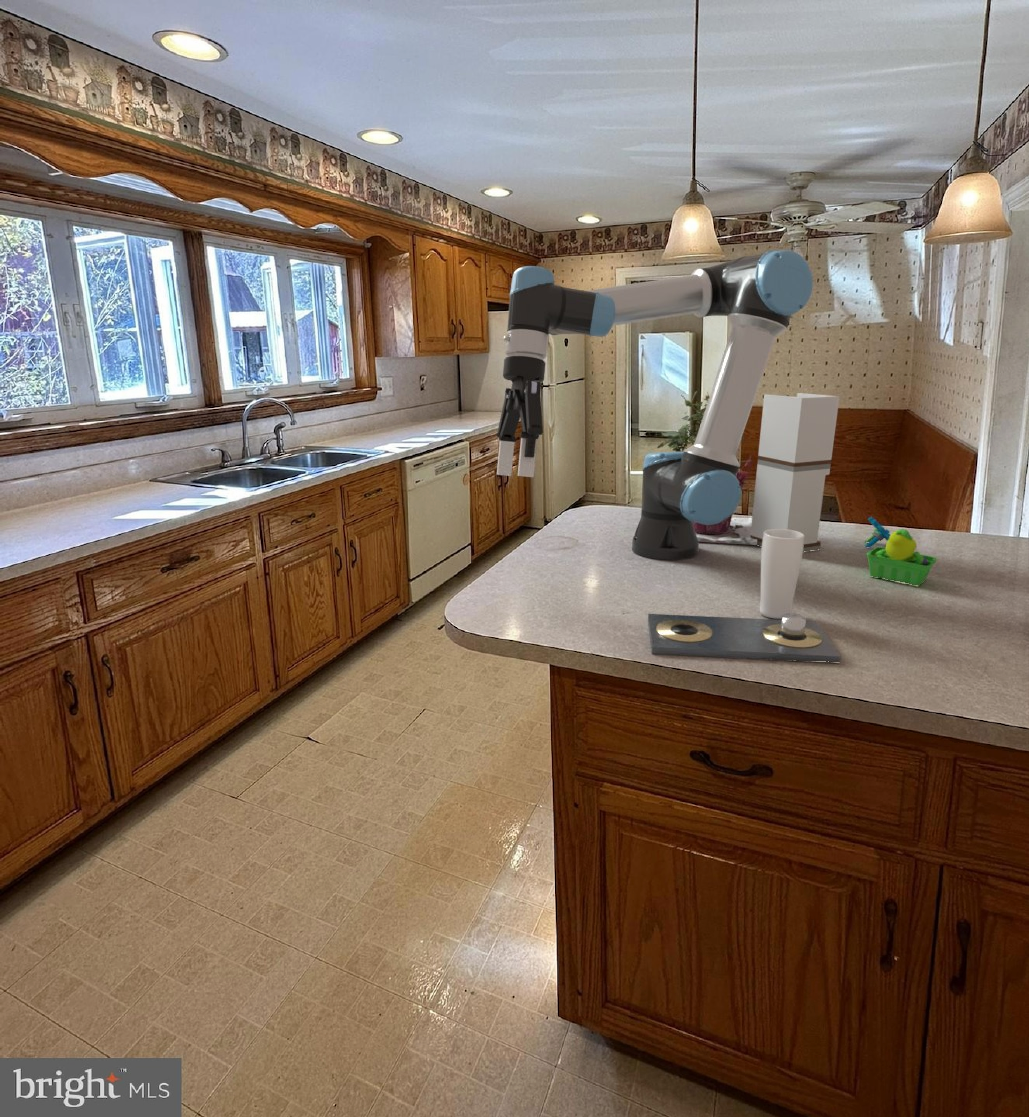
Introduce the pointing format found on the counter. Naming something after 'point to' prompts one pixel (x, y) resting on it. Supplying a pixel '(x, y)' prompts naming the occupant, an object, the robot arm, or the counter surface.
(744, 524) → the potted flower
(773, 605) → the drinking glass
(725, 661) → the counter surface
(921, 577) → the fruit basket
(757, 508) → the white banded pillar
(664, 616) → the bolt plate
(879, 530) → the blue plastic t-shaped piece
